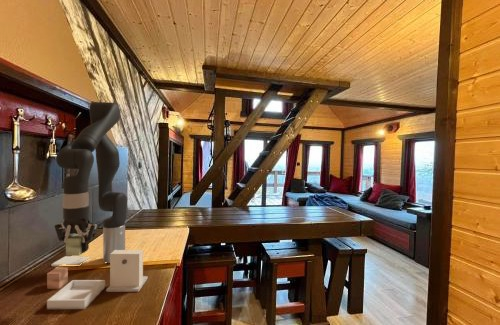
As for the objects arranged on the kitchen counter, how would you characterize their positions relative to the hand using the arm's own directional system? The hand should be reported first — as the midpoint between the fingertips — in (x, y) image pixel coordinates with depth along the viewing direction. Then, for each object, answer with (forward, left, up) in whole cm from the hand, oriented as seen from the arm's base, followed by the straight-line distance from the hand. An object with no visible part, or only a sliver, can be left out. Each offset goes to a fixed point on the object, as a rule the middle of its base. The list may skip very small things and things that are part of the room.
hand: (77, 251), depth 83 cm
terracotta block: (-8, -13, -17) cm, 23 cm away
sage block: (0, 0, 0) cm, 0 cm away
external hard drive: (-26, -20, -18) cm, 38 cm away
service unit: (-8, +14, -17) cm, 24 cm away
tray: (0, 0, -17) cm, 17 cm away
